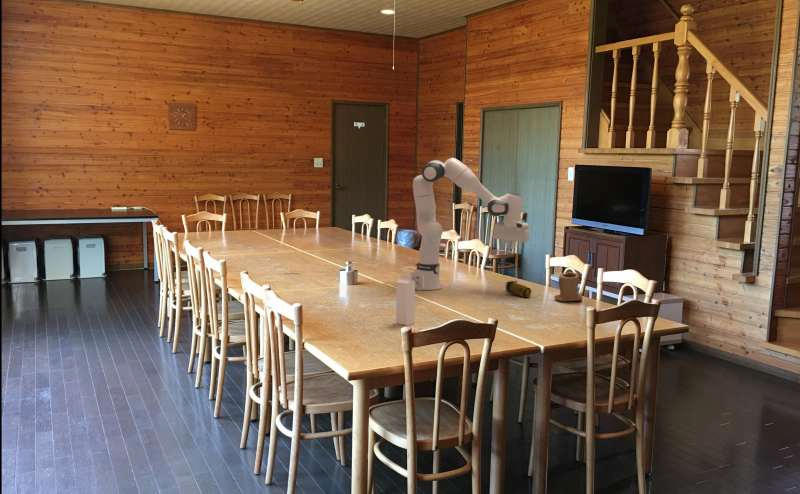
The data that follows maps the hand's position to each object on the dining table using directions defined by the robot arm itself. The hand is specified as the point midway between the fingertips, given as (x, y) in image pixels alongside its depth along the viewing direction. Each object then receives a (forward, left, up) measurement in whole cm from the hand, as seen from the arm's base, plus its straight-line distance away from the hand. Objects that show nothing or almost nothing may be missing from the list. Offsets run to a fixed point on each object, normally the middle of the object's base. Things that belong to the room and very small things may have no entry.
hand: (510, 248), depth 356 cm
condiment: (+1, 0, -21) cm, 21 cm away
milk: (-8, -86, -25) cm, 90 cm away
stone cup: (+33, +5, -25) cm, 42 cm away
